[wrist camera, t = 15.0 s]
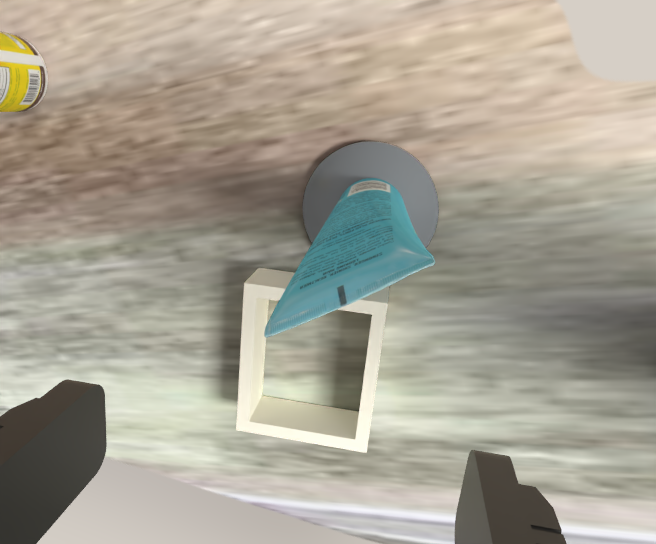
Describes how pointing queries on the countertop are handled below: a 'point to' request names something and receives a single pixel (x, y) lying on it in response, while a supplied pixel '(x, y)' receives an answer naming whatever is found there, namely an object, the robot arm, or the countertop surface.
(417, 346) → the countertop surface
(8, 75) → the supplement bottle
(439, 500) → the countertop surface
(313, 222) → the grey round disc
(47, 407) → the robot arm
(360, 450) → the white open box
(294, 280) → the tube
